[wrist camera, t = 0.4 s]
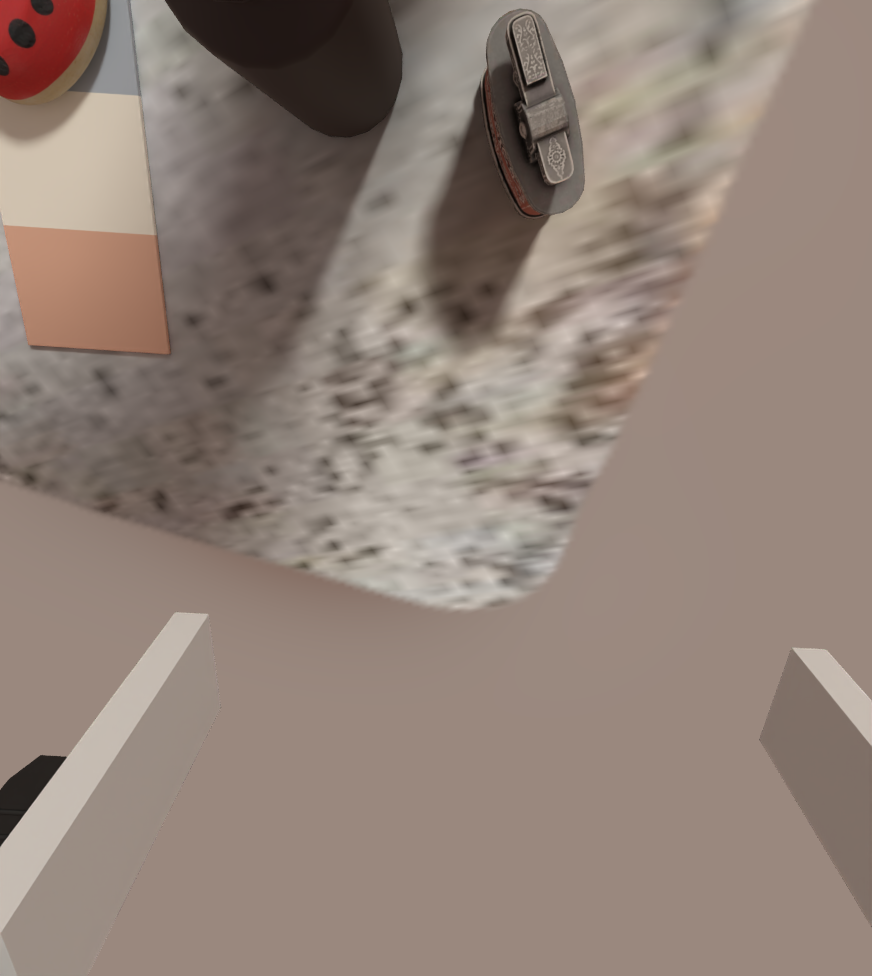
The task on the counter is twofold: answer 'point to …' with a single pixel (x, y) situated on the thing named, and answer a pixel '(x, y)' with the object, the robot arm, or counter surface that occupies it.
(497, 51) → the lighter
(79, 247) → the track
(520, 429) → the counter surface
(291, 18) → the bottle
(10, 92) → the ladybug figurine
